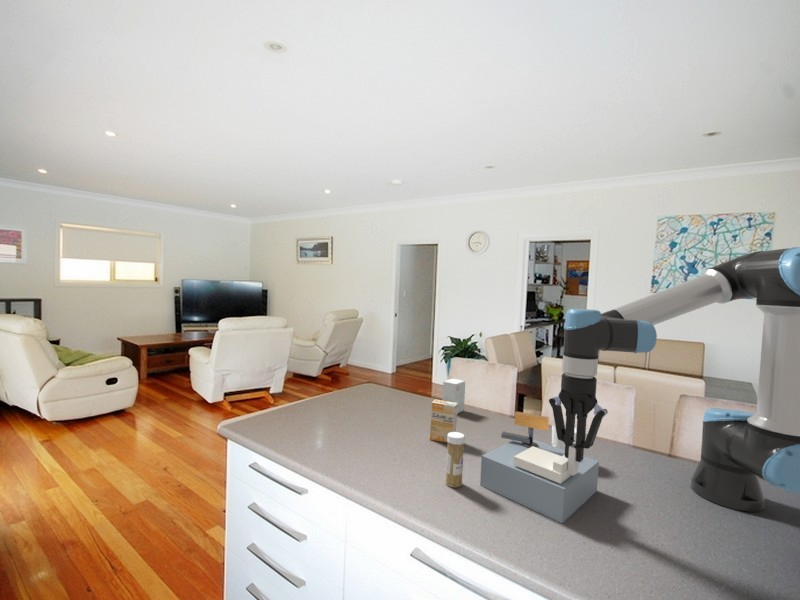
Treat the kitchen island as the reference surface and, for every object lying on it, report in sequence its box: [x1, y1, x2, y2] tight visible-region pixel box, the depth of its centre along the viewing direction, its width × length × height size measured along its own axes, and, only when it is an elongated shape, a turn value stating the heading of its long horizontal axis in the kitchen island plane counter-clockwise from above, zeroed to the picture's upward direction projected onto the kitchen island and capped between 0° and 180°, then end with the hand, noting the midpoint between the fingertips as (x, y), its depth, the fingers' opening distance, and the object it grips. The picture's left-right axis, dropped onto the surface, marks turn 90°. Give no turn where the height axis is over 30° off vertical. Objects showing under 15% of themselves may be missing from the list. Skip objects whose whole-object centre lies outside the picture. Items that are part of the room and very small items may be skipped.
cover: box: [513, 446, 572, 484], centre depth 97 cm, size 12×10×4 cm
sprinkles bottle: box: [445, 431, 466, 488], centre depth 104 cm, size 5×5×14 cm
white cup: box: [551, 423, 577, 450], centre depth 122 cm, size 8×8×10 cm
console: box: [479, 439, 600, 524], centre depth 104 cm, size 22×22×8 cm
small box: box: [442, 378, 466, 415], centre depth 165 cm, size 8×6×13 cm
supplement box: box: [429, 398, 458, 444], centre depth 134 cm, size 8×5×13 cm, turn 68°
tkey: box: [500, 410, 550, 444], centre depth 113 cm, size 2×12×8 cm, turn 64°
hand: (572, 472), depth 93 cm, fingers closed
